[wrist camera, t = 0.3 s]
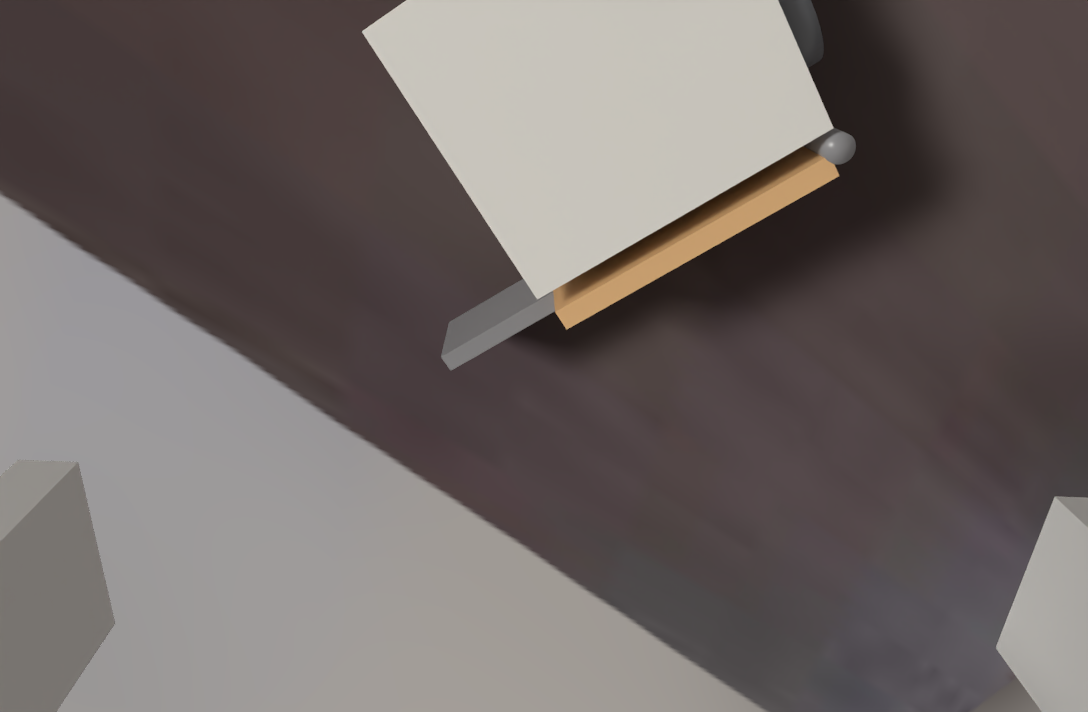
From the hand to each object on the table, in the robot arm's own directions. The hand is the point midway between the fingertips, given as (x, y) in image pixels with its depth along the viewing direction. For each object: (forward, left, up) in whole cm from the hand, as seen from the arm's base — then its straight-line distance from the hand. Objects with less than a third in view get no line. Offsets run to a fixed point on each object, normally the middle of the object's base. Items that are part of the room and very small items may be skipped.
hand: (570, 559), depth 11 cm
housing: (-3, +4, -25) cm, 25 cm away
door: (+3, +2, -24) cm, 24 cm away
